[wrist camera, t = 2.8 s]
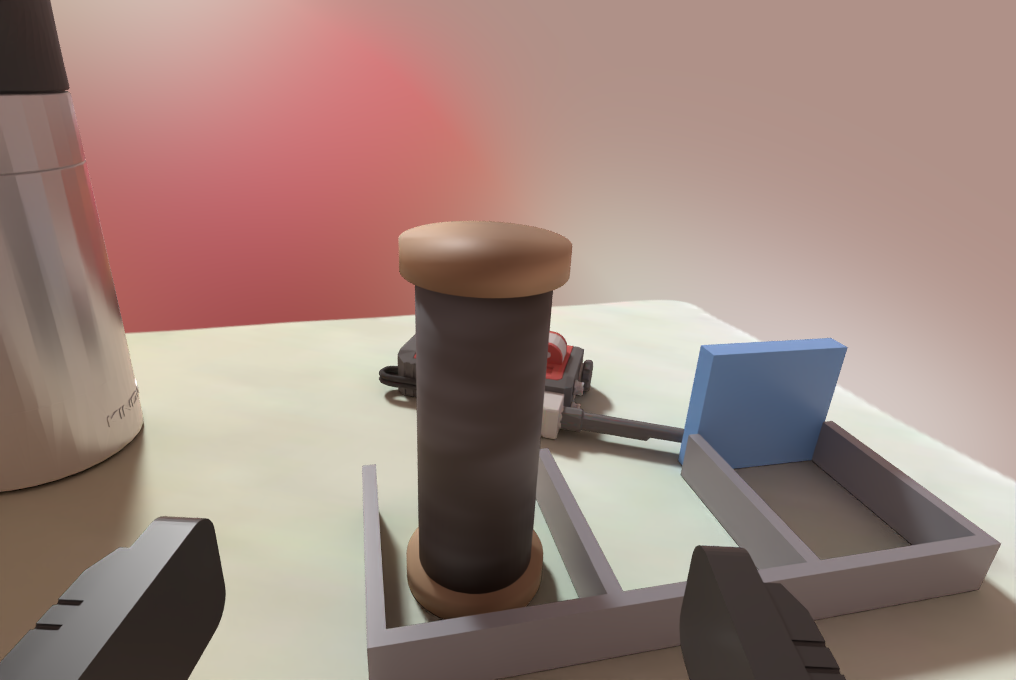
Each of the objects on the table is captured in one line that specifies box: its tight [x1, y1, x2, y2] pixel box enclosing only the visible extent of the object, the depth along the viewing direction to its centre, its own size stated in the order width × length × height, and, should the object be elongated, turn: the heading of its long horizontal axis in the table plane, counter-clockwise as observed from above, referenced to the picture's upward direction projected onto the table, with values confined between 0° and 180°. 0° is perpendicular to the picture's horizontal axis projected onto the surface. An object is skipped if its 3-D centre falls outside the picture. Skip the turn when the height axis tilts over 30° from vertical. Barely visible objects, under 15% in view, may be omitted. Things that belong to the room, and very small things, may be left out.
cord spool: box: [399, 221, 572, 620], centre depth 22 cm, size 6×6×14 cm
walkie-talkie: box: [379, 331, 684, 443], centre depth 38 cm, size 9×4×20 cm
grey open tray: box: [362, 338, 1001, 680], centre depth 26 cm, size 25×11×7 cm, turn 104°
